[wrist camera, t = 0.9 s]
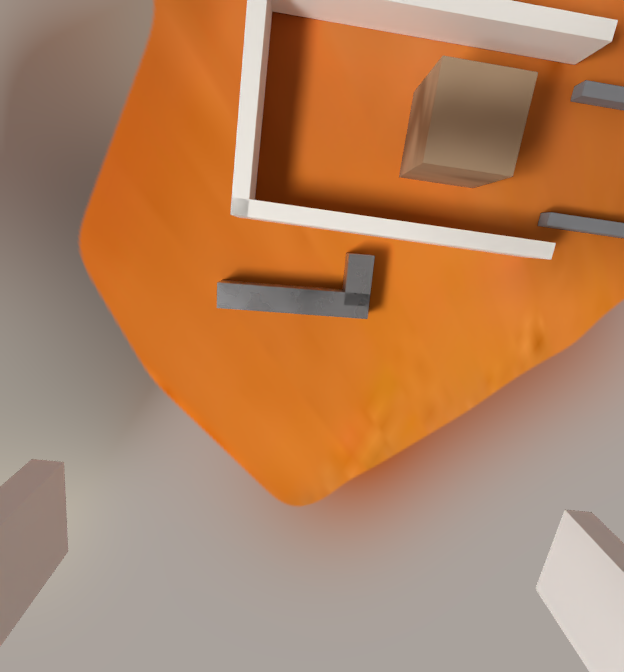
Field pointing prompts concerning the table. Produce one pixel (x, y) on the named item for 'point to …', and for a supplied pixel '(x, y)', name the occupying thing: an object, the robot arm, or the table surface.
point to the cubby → (419, 21)
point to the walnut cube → (467, 123)
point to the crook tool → (305, 294)
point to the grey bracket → (605, 98)
